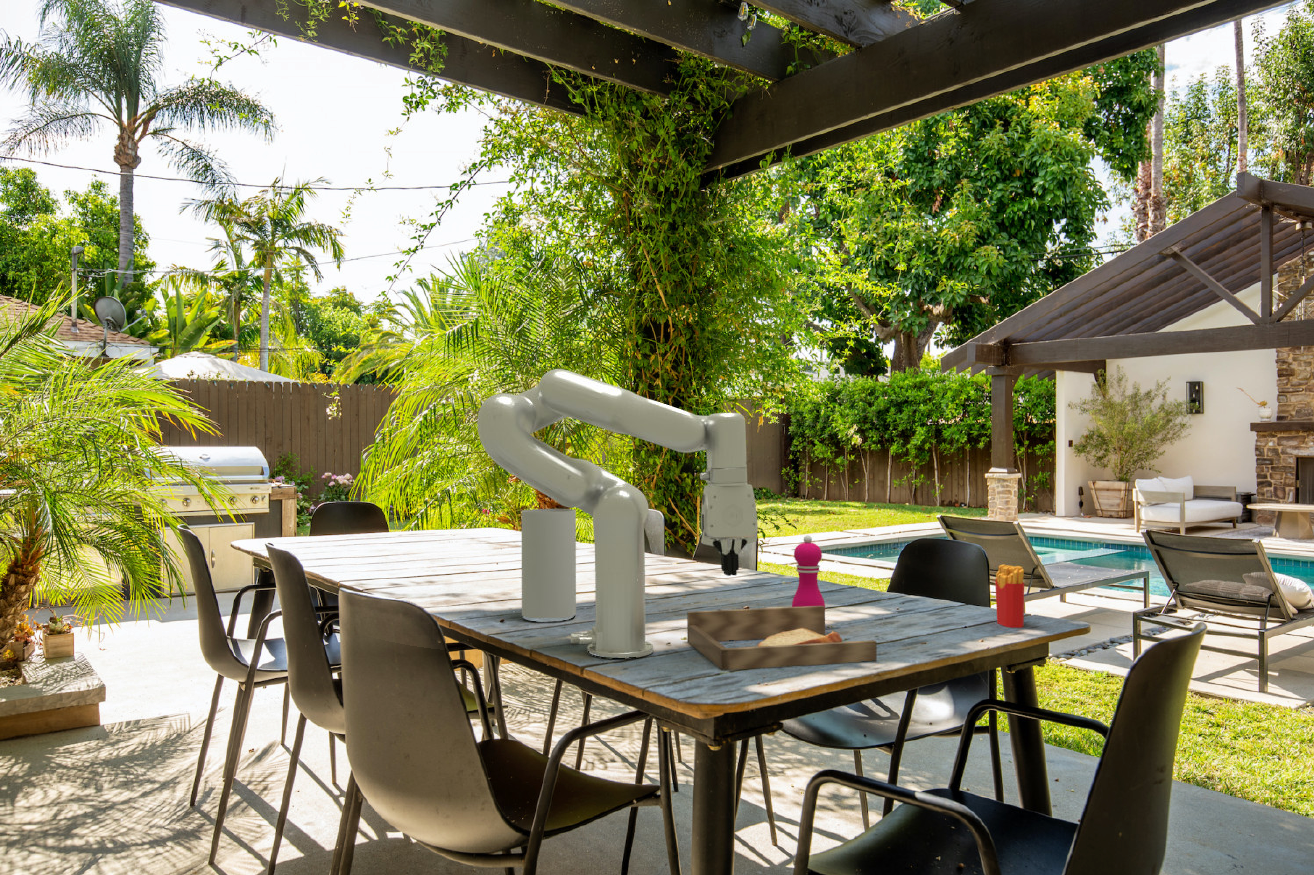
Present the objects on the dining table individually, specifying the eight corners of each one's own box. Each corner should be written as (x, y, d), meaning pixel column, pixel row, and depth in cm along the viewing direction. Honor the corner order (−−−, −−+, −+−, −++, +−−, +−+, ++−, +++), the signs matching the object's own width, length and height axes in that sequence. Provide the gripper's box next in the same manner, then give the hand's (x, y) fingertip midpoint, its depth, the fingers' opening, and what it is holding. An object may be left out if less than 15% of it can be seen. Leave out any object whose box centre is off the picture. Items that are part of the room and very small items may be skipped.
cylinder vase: (556, 611, 212) (556, 508, 212) (586, 618, 202) (586, 510, 203) (511, 617, 204) (511, 510, 204) (540, 625, 194) (540, 512, 195)
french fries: (992, 621, 196) (991, 563, 196) (1011, 620, 196) (1010, 562, 196) (1010, 629, 187) (1009, 568, 187) (1030, 628, 187) (1029, 568, 187)
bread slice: (759, 663, 159) (759, 642, 159) (747, 642, 177) (747, 623, 177) (857, 662, 159) (857, 641, 159) (836, 641, 177) (835, 622, 177)
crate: (722, 670, 152) (721, 635, 152) (687, 641, 176) (687, 611, 176) (876, 660, 159) (876, 627, 159) (822, 634, 182) (822, 605, 182)
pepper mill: (825, 631, 186) (824, 537, 186) (791, 630, 187) (790, 536, 188) (825, 624, 193) (824, 534, 193) (792, 623, 194) (791, 533, 195)
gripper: (694, 479, 161) (697, 579, 160) (771, 476, 164) (774, 575, 163) (684, 478, 168) (687, 574, 168) (758, 476, 171) (761, 570, 171)
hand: (730, 574), depth 165 cm, fingers closed
